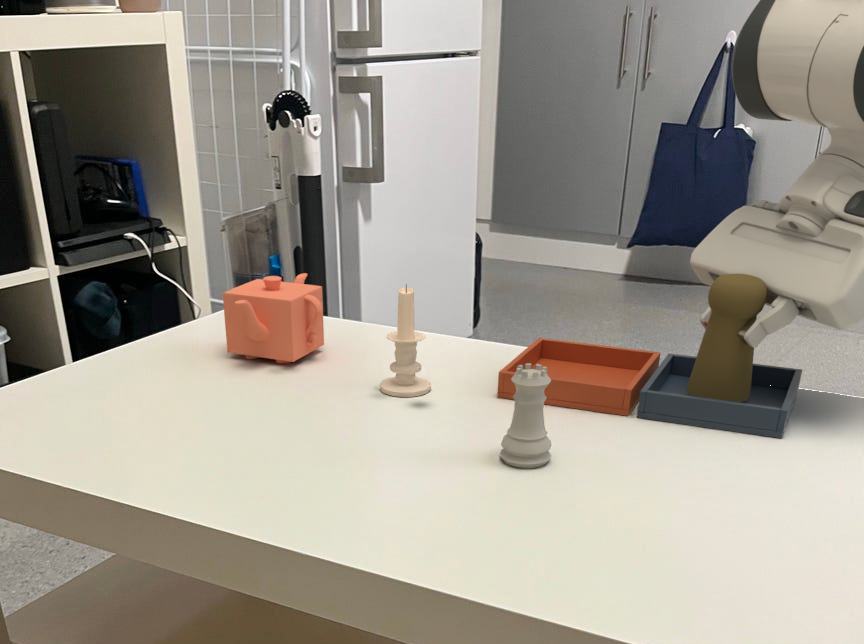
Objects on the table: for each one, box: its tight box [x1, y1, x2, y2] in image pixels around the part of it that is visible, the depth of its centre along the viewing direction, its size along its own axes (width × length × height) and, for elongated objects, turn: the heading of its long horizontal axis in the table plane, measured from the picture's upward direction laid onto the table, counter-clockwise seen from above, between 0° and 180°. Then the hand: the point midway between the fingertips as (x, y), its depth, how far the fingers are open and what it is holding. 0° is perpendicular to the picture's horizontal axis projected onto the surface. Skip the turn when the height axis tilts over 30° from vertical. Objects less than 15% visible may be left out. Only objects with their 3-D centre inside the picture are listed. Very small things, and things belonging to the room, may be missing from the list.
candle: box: [379, 283, 432, 398], centre depth 101 cm, size 5×5×10 cm
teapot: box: [222, 272, 325, 364], centre depth 112 cm, size 12×15×8 cm
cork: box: [686, 274, 768, 402], centre depth 96 cm, size 6×6×11 cm
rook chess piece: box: [499, 364, 552, 469], centre depth 85 cm, size 4×4×8 cm
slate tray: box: [636, 353, 803, 439], centre depth 98 cm, size 13×13×3 cm
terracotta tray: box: [497, 337, 661, 417], centre depth 103 cm, size 13×13×3 cm
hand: (725, 334), depth 95 cm, fingers closed on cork, 4 cm apart
